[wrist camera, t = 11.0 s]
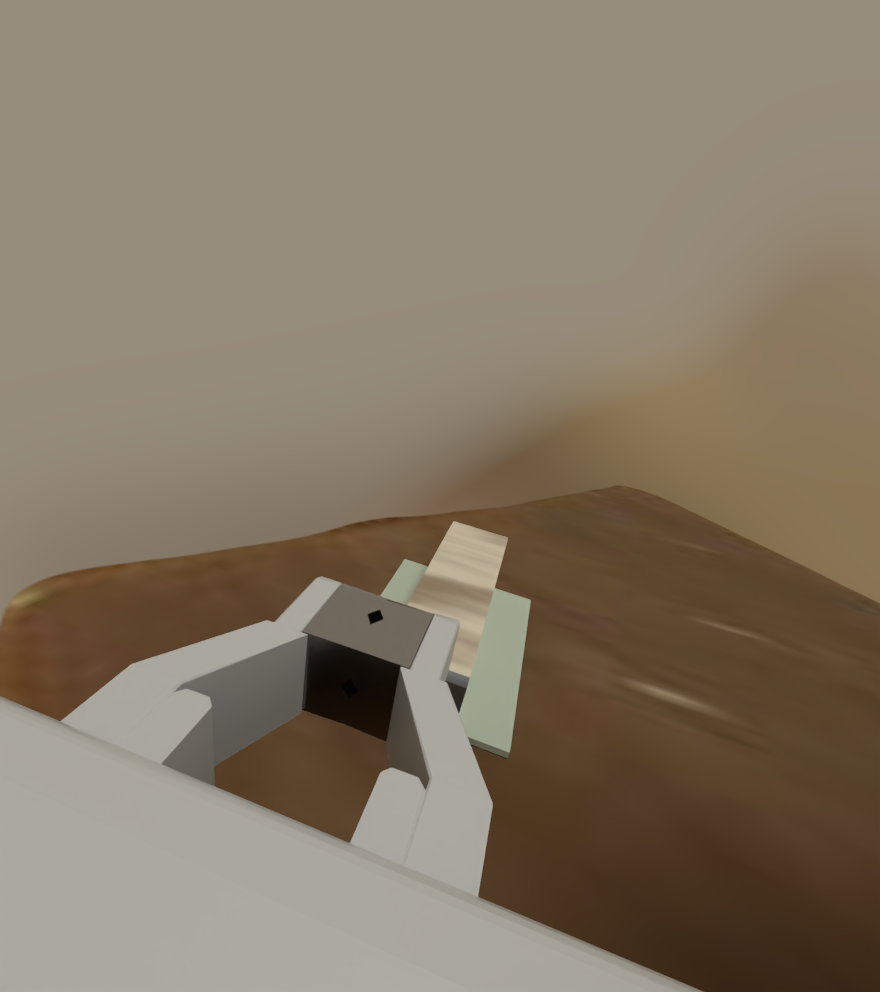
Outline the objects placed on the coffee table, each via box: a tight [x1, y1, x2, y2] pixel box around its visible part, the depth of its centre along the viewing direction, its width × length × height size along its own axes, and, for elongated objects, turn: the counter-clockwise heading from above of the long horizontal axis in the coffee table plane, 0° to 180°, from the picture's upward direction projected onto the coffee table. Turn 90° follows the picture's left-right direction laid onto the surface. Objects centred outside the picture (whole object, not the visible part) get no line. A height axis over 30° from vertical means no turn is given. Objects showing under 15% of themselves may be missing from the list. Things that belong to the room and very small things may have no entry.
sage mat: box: [381, 559, 531, 758], centre depth 35 cm, size 16×12×1 cm
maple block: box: [407, 521, 508, 713], centre depth 34 cm, size 5×5×18 cm
